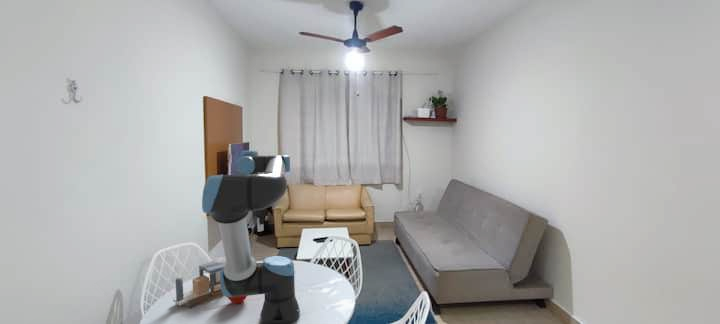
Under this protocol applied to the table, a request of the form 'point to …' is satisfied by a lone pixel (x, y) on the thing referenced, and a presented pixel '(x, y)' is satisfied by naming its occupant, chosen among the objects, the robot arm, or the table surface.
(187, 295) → the u-shaped holder
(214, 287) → the grey legged frame
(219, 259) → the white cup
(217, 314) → the table surface
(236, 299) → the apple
